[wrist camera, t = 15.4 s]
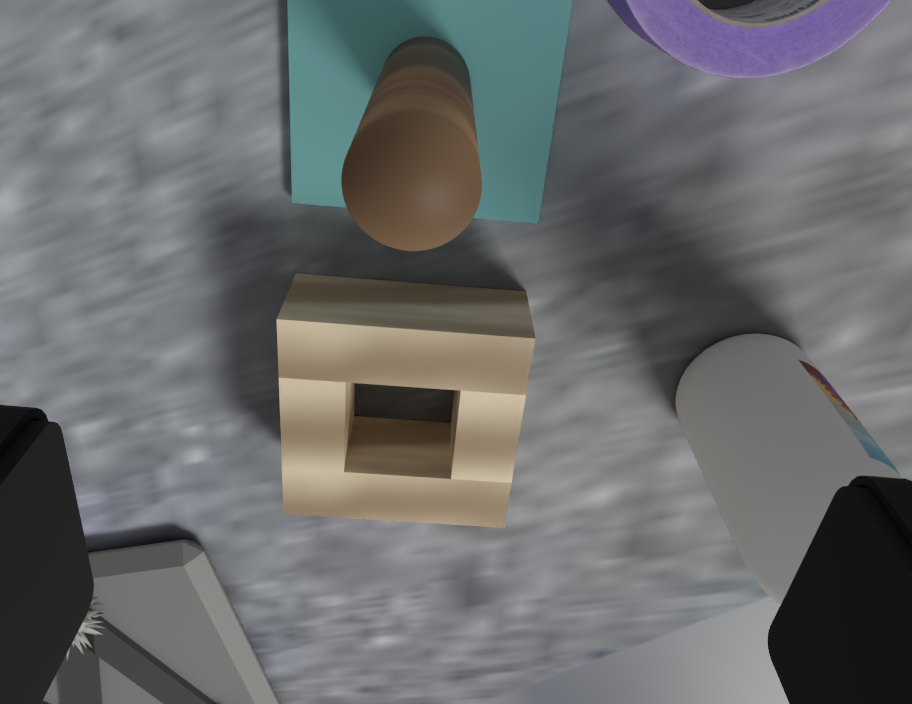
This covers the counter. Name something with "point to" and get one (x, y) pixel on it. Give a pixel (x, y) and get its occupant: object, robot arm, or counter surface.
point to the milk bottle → (772, 448)
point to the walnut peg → (416, 150)
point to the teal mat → (491, 74)
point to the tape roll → (748, 32)
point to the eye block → (409, 365)
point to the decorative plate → (159, 635)
